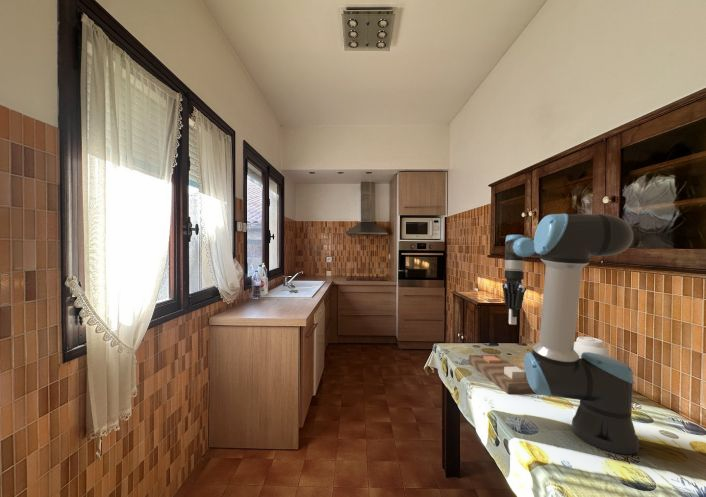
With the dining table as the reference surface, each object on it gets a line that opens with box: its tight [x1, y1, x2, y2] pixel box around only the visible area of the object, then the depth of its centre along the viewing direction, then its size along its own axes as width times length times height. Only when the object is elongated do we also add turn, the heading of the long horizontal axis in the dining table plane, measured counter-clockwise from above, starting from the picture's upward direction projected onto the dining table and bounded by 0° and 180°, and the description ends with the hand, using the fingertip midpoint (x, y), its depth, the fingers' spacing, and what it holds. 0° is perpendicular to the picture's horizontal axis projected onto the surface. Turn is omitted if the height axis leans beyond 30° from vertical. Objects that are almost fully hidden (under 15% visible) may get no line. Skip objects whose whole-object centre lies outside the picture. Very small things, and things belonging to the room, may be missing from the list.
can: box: [574, 335, 611, 358], centre depth 122 cm, size 12×12×20 cm
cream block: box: [504, 366, 525, 379], centre depth 123 cm, size 5×5×4 cm
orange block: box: [483, 356, 500, 363], centre depth 139 cm, size 5×5×4 cm
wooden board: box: [468, 354, 537, 395], centre depth 131 cm, size 30×14×4 cm, turn 7°
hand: (512, 324), depth 135 cm, fingers closed
